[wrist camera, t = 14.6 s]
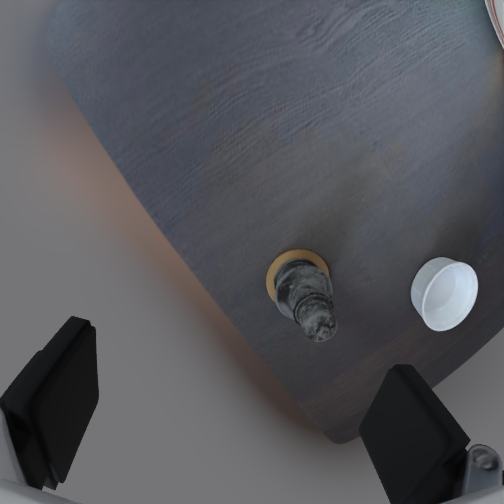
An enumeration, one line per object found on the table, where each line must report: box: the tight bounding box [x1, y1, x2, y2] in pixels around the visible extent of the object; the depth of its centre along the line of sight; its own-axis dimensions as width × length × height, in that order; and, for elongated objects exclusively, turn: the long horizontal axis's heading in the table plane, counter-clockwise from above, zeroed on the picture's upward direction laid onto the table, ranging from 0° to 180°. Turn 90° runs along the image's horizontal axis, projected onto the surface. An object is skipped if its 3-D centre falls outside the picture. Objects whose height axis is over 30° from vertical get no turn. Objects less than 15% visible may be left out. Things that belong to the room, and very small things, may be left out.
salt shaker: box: [274, 258, 338, 342], centre depth 29 cm, size 6×6×12 cm
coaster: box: [266, 249, 329, 303], centre depth 35 cm, size 7×7×1 cm
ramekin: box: [411, 257, 478, 331], centre depth 35 cm, size 9×9×4 cm
